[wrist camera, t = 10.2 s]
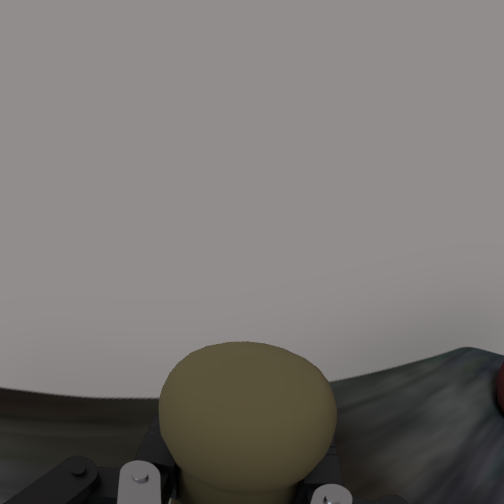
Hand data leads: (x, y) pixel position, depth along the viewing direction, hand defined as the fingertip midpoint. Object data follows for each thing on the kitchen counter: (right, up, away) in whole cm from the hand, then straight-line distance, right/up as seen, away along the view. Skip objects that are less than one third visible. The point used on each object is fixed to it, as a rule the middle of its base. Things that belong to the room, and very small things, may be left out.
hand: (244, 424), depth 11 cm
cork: (-1, -7, -1) cm, 7 cm away
